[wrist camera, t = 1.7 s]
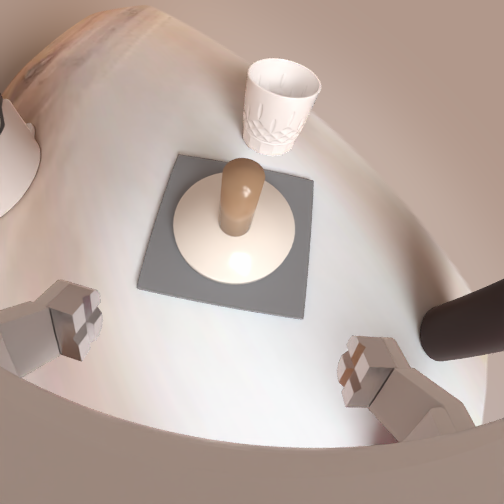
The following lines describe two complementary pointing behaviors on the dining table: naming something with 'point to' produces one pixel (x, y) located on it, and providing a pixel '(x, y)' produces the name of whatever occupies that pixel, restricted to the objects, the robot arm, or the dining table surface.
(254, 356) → the dining table surface
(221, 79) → the dining table surface
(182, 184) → the slate mat
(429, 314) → the bottle
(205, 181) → the lid
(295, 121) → the white cup
